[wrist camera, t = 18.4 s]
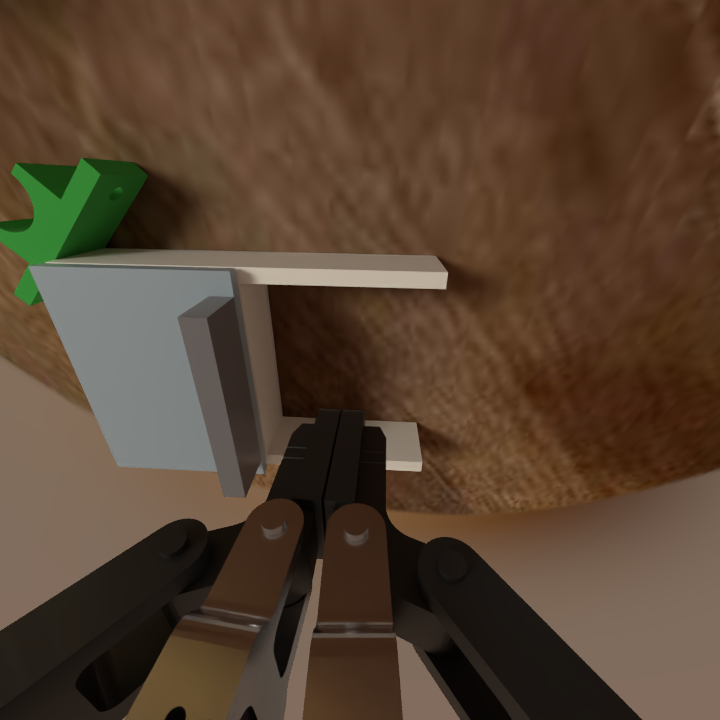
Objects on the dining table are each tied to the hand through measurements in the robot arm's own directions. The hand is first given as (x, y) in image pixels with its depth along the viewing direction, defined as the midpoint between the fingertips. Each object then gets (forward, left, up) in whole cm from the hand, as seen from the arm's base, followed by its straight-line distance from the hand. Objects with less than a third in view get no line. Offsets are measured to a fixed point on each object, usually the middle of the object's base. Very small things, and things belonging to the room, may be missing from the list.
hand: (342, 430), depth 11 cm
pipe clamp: (+20, -5, -17) cm, 26 cm away
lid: (+13, +5, -11) cm, 18 cm away
